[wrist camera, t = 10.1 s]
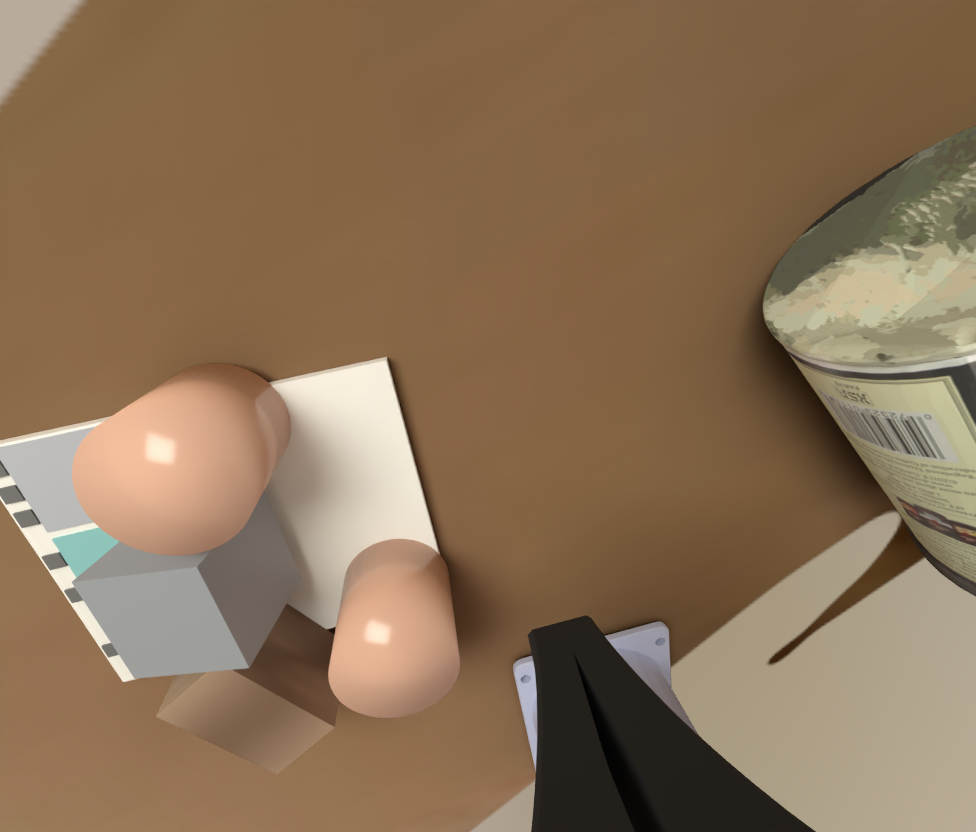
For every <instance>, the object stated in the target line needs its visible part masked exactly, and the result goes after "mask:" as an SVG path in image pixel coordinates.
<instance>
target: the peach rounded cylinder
mask: <svg viewBox="0 0 976 832" xmlns="http://www.w3.org/2000/svg"><path fill="white" fill-rule="evenodd" d="M459 669H460V658H459V650H458V642H457V634H456V626H455V619H454V611H453V603H452V595H451V587H450V579H449V572H448V568H447V565H446V563H445V561H444V559H443V558H442V557H441V556H440V554H439V553H438V552H436V551H435V550H434V549H433V548H431V547H430V546H428V545H426V544H424V543H421V542H418V541H415V540H409V539H390V540H385V541H381V542H378V543H375V544H373V545H371V546H369V547H367V548H366V549H364V550H363V551H361V552H360V553H359V554H358V555H357V556H356V557H355V558H354V559H353V560H352V562H351V563H350V565H349V566H348V568H347V571H346V573H345V578H344V583H343V589H342V595H341V601H340V606H339V612H338V618H337V624H336V630H335V635H334V641H333V647H332V653H331V659H330V665H329V672H328V678H329V684H330V687H331V689H332V691H333V693H334V695H335V696H336V697H337V699H338V700H339V701H340V702H341V703H342V704H344V705H345V706H346V707H348V708H349V709H351V710H353V711H355V712H358V713H360V714H363V715H367V716H371V717H378V718H396V717H403V716H408V715H412V714H415V713H418V712H420V711H423V710H425V709H427V708H429V707H431V706H432V705H434V704H435V703H437V702H438V701H440V700H441V699H442V698H443V697H444V696H445V695H446V694H447V693H448V692H449V691H450V690H451V688H452V687H453V685H454V684H455V682H456V680H457V677H458V674H459Z"/></svg>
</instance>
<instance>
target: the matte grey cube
mask: <svg viewBox="0 0 976 832" xmlns="http://www.w3.org/2000/svg"><path fill="white" fill-rule="evenodd" d="M300 579H301V576H300V574H299V572H298V569H297V567H296V565H295V562H294V560H293V557H292V555H291V553H290V550H289V548H288V546H287V543H286V541H285V538H284V536H283V534H282V531H281V529H280V526H279V524H278V522H277V519H276V517H275V515H274V512H273V510H272V507H271V505H270V503H269V500H268V498H267V496H266V493H265V491H264V492H263V494H262V495H261V497H260V499H259V501H258V503H257V505H256V507H255V509H254V510H253V512H252V514H251V516H250V518H249V520H248V521H247V523H246V524H245V526H244V527H243V528H242V529H241V530H240V532H239V533H238V534H237V535H235V536H234V537H233V538H232V539H230V540H229V541H227V542H226V543H224V544H222V545H221V546H219V547H216V548H214V549H212V550H209V551H205V552H202V553H197V554H192V555H181V556H170V555H160V554H154V553H149V552H145V551H142V550H138V549H135V548H133V547H130V546H128V545H126V544H123V543H122V542H119V543H117V544H116V545H115V546H114V547H113V548H111V549H110V550H109V551H108V552H107V553H105V554H104V555H103V556H102V557H101V558H100V559H98V560H97V561H96V562H95V563H94V564H92V565H91V566H90V567H89V568H88V569H87V570H85V571H84V572H83V573H82V574H81V575H79V576H78V577H77V578H76V579H75V580H73V581H72V584H73V585H74V587H75V588H76V590H77V592H78V593H79V595H80V596H81V598H82V599H83V601H84V602H85V604H86V605H87V607H88V608H89V610H90V611H91V613H92V614H93V616H94V618H95V619H96V621H97V622H98V624H99V625H100V627H101V628H102V630H103V631H104V633H105V634H106V636H107V637H108V639H109V640H110V642H111V643H112V645H113V647H114V648H115V650H116V651H117V653H118V654H119V656H120V657H121V659H122V660H123V662H124V663H125V665H126V666H127V668H128V669H129V671H130V673H131V674H132V676H133V677H134V679H137V678H147V677H158V676H169V675H180V674H191V673H202V672H212V671H223V670H234V669H245V668H250V666H251V664H252V663H253V661H254V659H255V657H256V656H257V654H258V652H259V650H260V649H261V647H262V645H263V644H264V642H265V640H266V638H267V637H268V635H269V633H270V631H271V630H272V628H273V626H274V624H275V623H276V621H277V619H278V618H279V616H280V614H281V612H282V611H283V609H284V607H285V605H286V604H287V602H288V600H289V598H290V597H291V595H292V593H293V592H294V590H295V588H296V586H297V585H298V583H299V581H300Z"/></svg>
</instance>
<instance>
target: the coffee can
mask: <svg viewBox="0 0 976 832" xmlns="http://www.w3.org/2000/svg"><path fill="white" fill-rule="evenodd" d="M763 313H764V319H765V322H766V325H767V327H768V328H769V331H770V332H771V334H772V335H773V337H775V338H776V339H777V340H778V341H779V342H780V343H781V344H782V345H783V346H784V348H785V349H786V351H787V352H788V354H789V355H790V356H791V358H792V359H793V361H794V362H795V364H796V365H797V367H798V368H799V370H800V371H801V373H802V374H803V376H804V377H805V378H806V380H807V381H808V383H809V384H810V386H811V387H812V388H813V390H814V391H815V392H816V394H817V395H818V397H819V398H820V400H821V401H822V403H823V404H824V406H825V407H826V408H827V410H828V411H829V413H830V414H831V416H832V417H833V419H834V420H835V422H836V423H837V425H838V426H839V427H840V429H841V430H842V431H843V433H844V434H845V436H846V437H847V439H848V440H849V442H850V443H851V444H852V446H853V447H854V449H855V450H856V452H857V453H858V455H859V456H860V458H861V459H862V460H863V462H864V463H865V465H866V466H867V468H868V469H869V471H870V472H871V474H872V476H873V478H874V479H875V480H876V482H877V483H878V484H879V486H880V487H881V489H882V490H883V491H884V493H885V494H886V496H887V497H888V498H889V500H890V501H891V502H892V504H893V505H894V507H895V508H896V509H897V511H898V512H899V514H900V515H901V517H902V518H903V519H904V522H905V524H906V527H907V529H908V532H909V533H910V535H911V537H912V539H913V541H914V542H915V544H916V545H917V547H918V548H919V549H920V551H921V552H922V554H923V555H924V556H925V558H926V559H927V560H928V561H929V562H930V563H931V564H932V565H933V566H934V567H935V568H936V569H937V570H938V571H939V572H940V573H941V574H943V575H944V576H945V577H947V578H948V579H949V580H951V581H952V582H953V583H955V584H956V585H957V586H959V587H960V588H962V589H964V590H966V591H967V592H969V593H971V594H973V595H974V596H976V126H974V127H971V128H969V129H966V130H964V131H962V132H959V133H957V134H955V135H953V136H951V137H949V138H947V139H945V140H942V141H940V142H938V143H936V144H934V145H933V146H931V147H929V148H927V149H925V150H922V151H920V152H918V153H916V154H915V155H913V156H911V157H909V158H907V159H905V160H904V161H902V162H900V163H898V164H897V165H895V166H894V167H892V168H890V169H888V170H886V171H885V172H883V173H882V174H880V175H879V176H877V177H876V178H874V179H873V180H871V181H870V182H868V183H866V184H865V185H863V186H862V187H860V188H859V189H857V190H856V191H854V192H853V193H851V194H850V195H848V196H847V197H846V198H844V199H843V200H842V201H840V202H839V203H838V204H836V205H835V206H834V207H833V208H831V209H830V210H829V211H828V212H826V213H825V214H824V215H823V216H822V217H821V218H819V219H818V220H817V221H816V222H815V223H814V224H813V225H812V226H810V227H809V228H808V229H807V230H806V231H805V232H804V233H803V234H802V236H801V237H800V238H799V239H798V240H797V241H796V242H795V243H794V244H793V245H792V246H791V248H790V249H789V250H788V251H787V253H786V254H785V255H784V257H783V258H782V259H781V260H780V261H779V263H778V264H777V266H776V268H775V270H774V272H773V274H772V276H771V278H770V280H769V282H768V285H767V287H766V290H765V294H764V299H763Z"/></svg>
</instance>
